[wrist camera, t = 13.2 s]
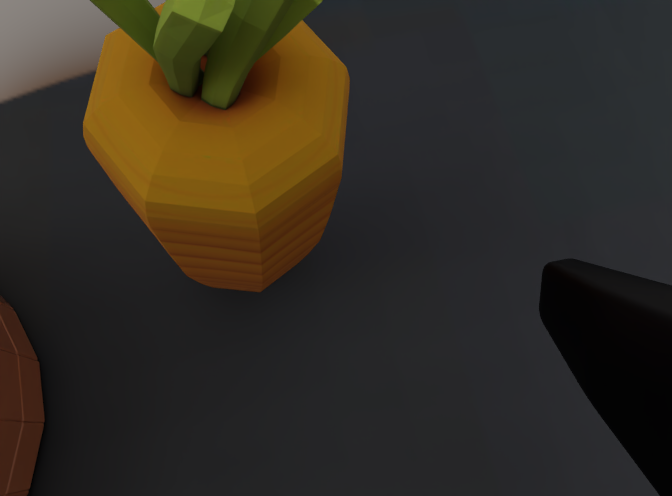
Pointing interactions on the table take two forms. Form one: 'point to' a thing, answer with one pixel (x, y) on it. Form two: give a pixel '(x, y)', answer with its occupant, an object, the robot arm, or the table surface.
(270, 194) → the carrot
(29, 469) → the bowl
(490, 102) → the table surface
